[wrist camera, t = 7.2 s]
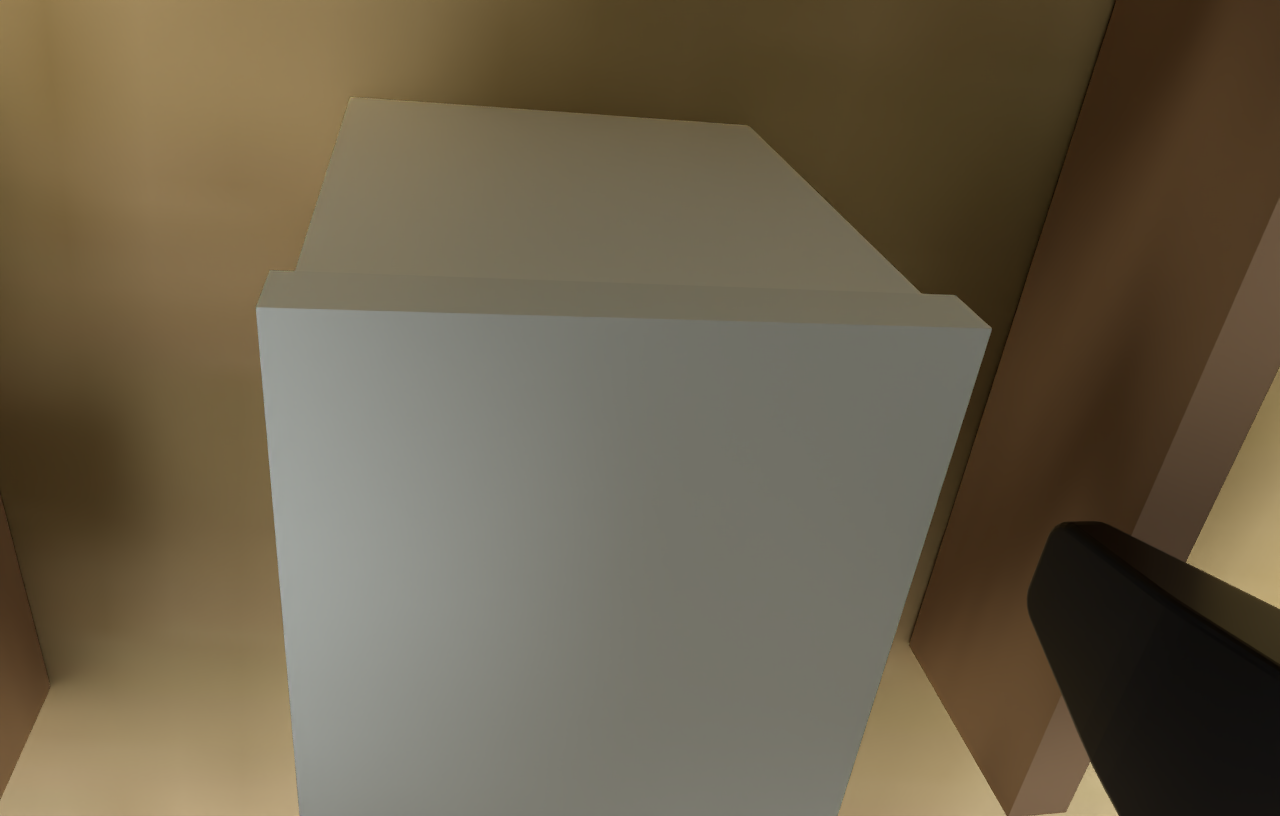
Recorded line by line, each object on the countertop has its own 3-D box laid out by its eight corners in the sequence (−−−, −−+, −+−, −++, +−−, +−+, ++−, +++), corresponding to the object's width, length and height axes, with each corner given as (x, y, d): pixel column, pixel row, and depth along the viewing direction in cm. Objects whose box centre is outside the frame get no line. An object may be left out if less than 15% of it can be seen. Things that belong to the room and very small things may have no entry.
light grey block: (679, 577, 13) (796, 941, 9) (357, 586, 12) (314, 994, 8) (757, 114, 10) (992, 328, 6) (338, 82, 9) (254, 307, 5)
